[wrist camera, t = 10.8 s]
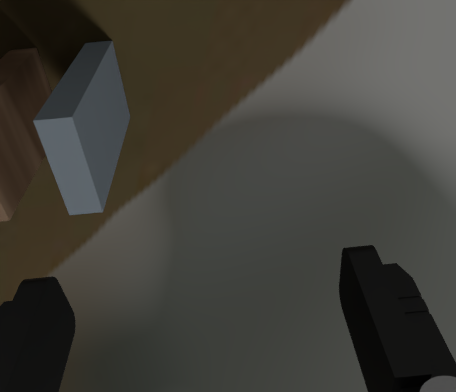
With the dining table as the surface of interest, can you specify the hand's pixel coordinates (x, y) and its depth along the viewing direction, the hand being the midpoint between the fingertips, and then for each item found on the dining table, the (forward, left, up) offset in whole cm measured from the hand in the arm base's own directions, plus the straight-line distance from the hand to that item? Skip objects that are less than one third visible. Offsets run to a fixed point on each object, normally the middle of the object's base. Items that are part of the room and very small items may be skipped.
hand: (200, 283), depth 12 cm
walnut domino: (-9, +6, -18) cm, 21 cm away
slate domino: (-5, +3, -18) cm, 19 cm away
